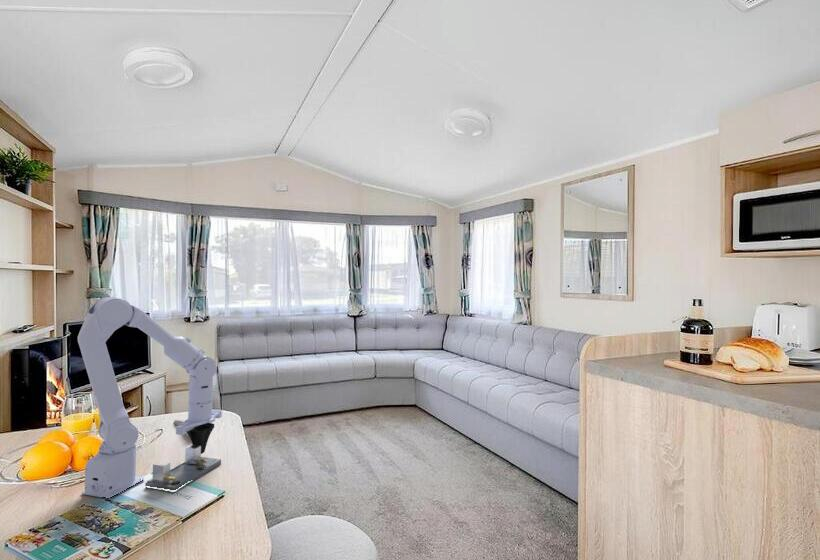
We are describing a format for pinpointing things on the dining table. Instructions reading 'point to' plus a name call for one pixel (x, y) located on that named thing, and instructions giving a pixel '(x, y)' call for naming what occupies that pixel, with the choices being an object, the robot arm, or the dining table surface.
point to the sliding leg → (193, 454)
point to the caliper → (178, 422)
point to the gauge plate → (179, 473)
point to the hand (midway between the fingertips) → (199, 452)
